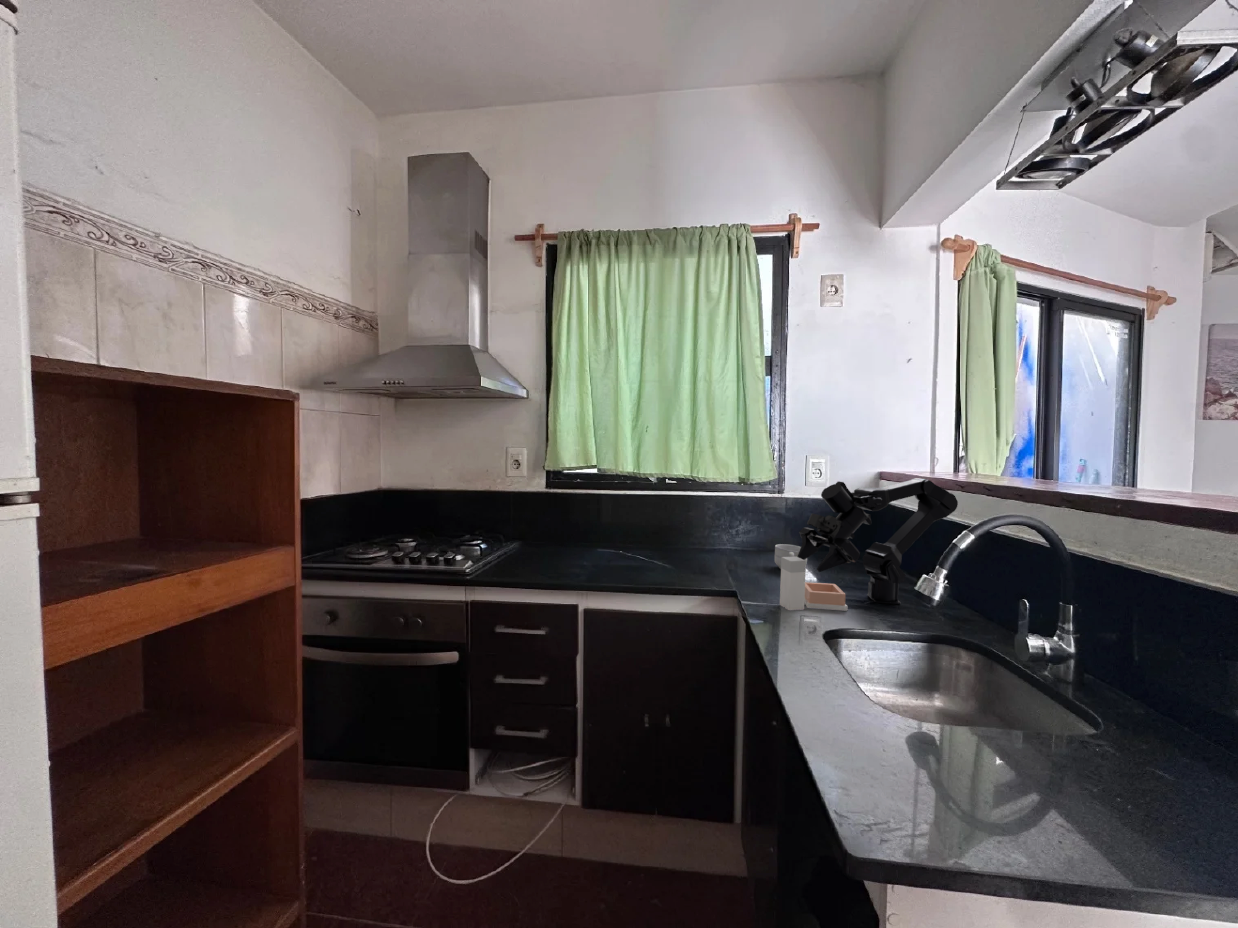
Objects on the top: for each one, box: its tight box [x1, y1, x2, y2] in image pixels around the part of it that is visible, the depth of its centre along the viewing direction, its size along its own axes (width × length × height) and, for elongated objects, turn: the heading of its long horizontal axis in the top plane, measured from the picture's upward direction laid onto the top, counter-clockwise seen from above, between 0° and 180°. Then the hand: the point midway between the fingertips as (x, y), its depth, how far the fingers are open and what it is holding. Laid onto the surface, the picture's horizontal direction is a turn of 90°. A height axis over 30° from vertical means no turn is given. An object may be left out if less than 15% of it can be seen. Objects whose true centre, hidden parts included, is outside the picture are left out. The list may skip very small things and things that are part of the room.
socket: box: [804, 581, 849, 612], centre depth 127 cm, size 10×10×4 cm
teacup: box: [774, 543, 808, 570], centre depth 159 cm, size 14×11×8 cm
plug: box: [779, 557, 807, 611], centre depth 124 cm, size 4×4×13 cm
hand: (807, 565), depth 124 cm, fingers open, 9 cm apart
